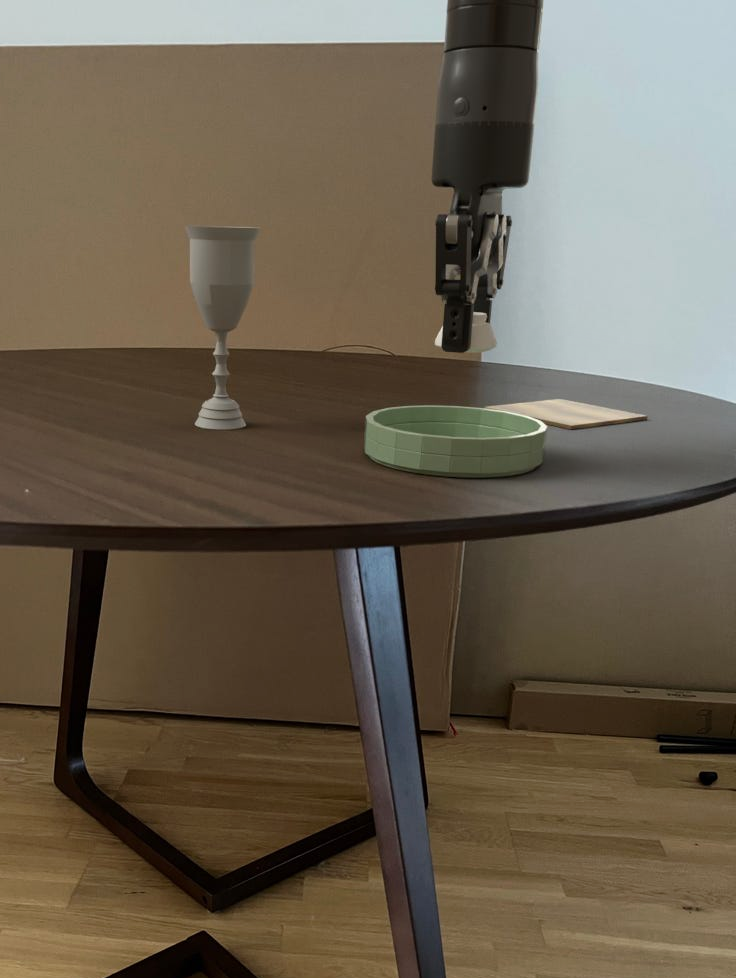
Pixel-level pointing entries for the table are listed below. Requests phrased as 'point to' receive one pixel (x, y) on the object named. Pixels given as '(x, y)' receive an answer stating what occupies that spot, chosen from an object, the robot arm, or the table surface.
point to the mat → (569, 413)
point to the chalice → (221, 303)
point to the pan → (455, 441)
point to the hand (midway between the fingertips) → (465, 347)
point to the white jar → (476, 335)
